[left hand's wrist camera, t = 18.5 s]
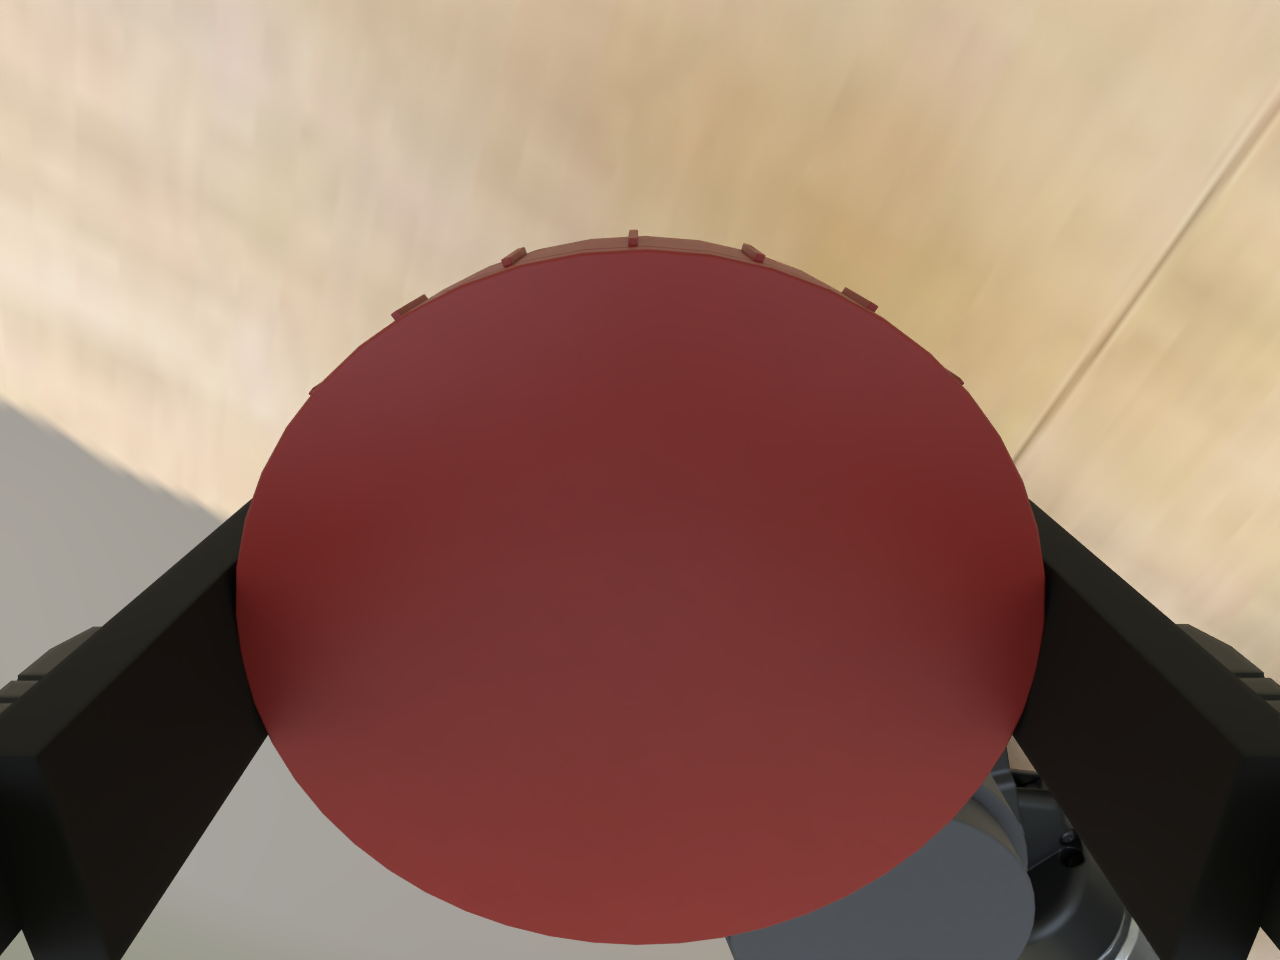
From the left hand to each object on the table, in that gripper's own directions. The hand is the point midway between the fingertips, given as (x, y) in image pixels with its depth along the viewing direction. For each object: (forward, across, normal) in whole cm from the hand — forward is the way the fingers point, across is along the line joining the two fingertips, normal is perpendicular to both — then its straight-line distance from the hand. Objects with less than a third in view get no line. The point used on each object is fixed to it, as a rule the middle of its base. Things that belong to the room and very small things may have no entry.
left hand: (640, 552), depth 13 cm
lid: (-3, 0, 0) cm, 3 cm away
